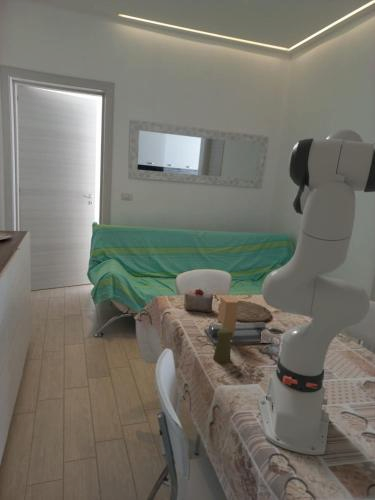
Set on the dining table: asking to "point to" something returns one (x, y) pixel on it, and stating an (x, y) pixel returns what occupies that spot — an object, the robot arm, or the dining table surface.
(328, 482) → the dining table surface
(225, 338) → the cork
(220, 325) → the grey banded bar
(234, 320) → the orange brown tall block
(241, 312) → the trivet
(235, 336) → the base board
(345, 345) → the dining table surface
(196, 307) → the food item
